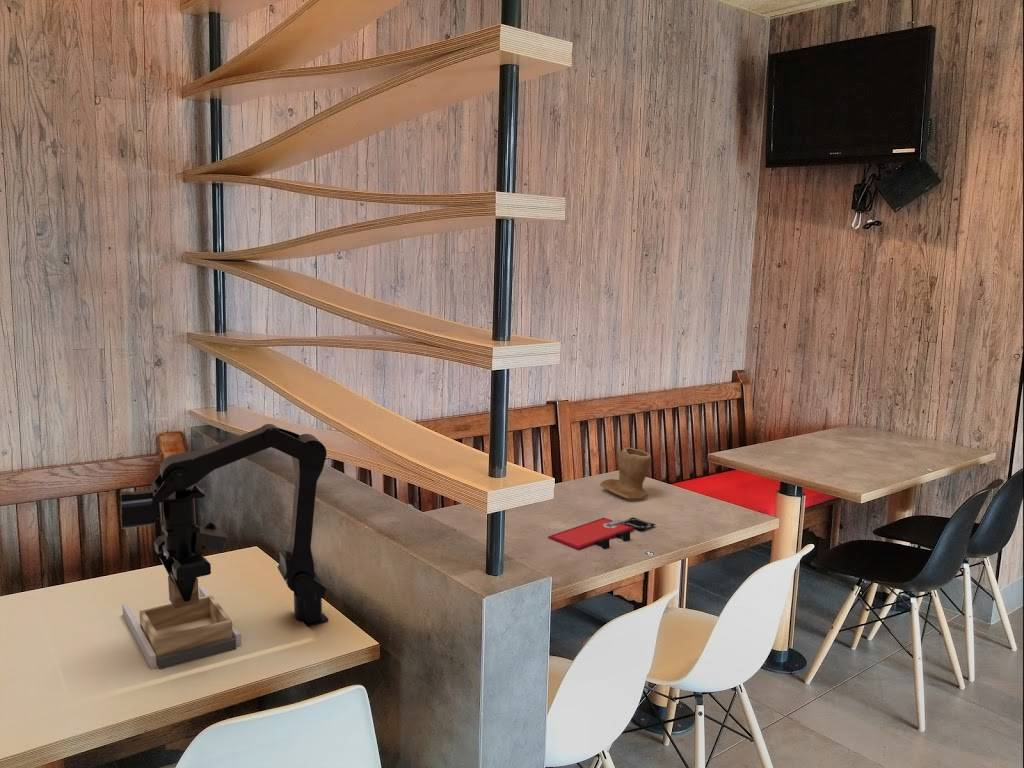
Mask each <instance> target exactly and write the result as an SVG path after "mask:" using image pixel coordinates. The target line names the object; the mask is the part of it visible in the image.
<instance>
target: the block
mask: <svg viewBox="0 0 1024 768" xmlns="http://www.w3.org/2000/svg"><path fill="white" fill-rule="evenodd" d="M167 583H168V600H169V602H170V604H172V605H173V606H174V608H179V607H184V606H188V605H192V604H197V603H199V597H200V594H199V579H198V577H197V578H196V580H195V584H194V588H193V592H192V596H191V600H190V601H187V602H184V600H183V598H182V596H181V594H180V592H179V590H178V588H177V586H176V584H175V582H174V580H173V578H172V576H169V575H168V576H167Z"/></svg>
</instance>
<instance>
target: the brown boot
mask: <svg viewBox="0 0 1024 768" xmlns="http://www.w3.org/2000/svg"><path fill="white" fill-rule="evenodd" d="M651 465H652V455H651V454H650V453H649V452H647V451H644V450H642V449H637V448H633V447H625V448H623V449H622V450H621V451H620V453H619V457H618V476H619V477H618V479H616V478H609V479H606V480H602V481H601V482H600V483H599V486H600V487H601V488H602V489H605V490H607V491H609V492H611V493H612V494H614V495H617V496H619V497H621V498H623V499H626V500H641V499H644V498H646V497H647V496H648V493H647V492H646V491H645V489H644V488H643V486H644V482H645V479H646V477H647V475H648V473H649V472H650V467H651Z"/></svg>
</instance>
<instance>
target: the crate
mask: <svg viewBox="0 0 1024 768" xmlns="http://www.w3.org/2000/svg"><path fill="white" fill-rule="evenodd" d="M232 623H233V621H232V619H231V618H230V617H229V615H228V614H227V612H225V610H224V609H223V608H222V606H221V605H220V603H218V601H217V600H216V598H215V597H214V596H213V595H212V594H210V595H208V596H204V597H200V596H199V603H197V604H192V605H188V606H184V607H179V608H174V606H173V605H172V603H168V604H165V605H160V606H156V607H152V608H147V609H143V610H139V625H140V627H141V629H142V631H143V632H144V634H145V636H146V638H147V640H148V642H149V643H150V645H151V647H152V649H153V651H154V652H155V654H156V663H157V665H158V657H161V656H165V655H169V654H173V653H177V652H181V651H184V650H188V649H192V648H196V647H200V646H204V645H208V644H212V643H216V642H219V641H223V640H227V639H231V638H233V632H232Z"/></svg>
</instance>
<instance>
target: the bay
mask: <svg viewBox="0 0 1024 768" xmlns="http://www.w3.org/2000/svg"><path fill="white" fill-rule="evenodd" d="M198 592H199V597H204V596H208V595H211V593H210V592H209V591H208V590H207V589H206V587H205V586H200V587H199V586H198ZM121 605H122V606H121V609H122V616H123V618H124V620H125V622H126V624H127V625H128V628H129V630H130V631H131V633H132V635H133V637H134V639H135V641H136V643H137V644H138V647H139V648H140V651H141V653H142V655H143V656H144V658H145V660H146V662H147V664H148V667H149V668H150V670H153V669H156V668H157V667H158V668H159V670H162V669H167V668H171V667H174V666H178V665H181V664H185V663H190V662H193V661H197V660H201V659H204V658H207V657H212V656H215V655H218V654H219V655H221V654H223V653H226V652H231V651H235V650H236V649H237V647H239V646H242V633H241V632H240V631H239V629H238V628H237V626H236V625H235V624H234V623H233V622H232V632H233V638H231V639H227V640H223V641H219V642H216V643H212V644H208V645H204V646H200V647H196V648H192V649H188V650H184V651H181V652H177V653H173V654H169V655H165V656H161V657H158V664H157V663H156V654H155V652H154V651H153V649H152V647H151V645H150V643H149V642H148V640H147V638H146V636H145V634H144V632H143V631H142V629H141V627H140V622H138V619H137V618H136V616H135V615H134V612H133V610H132V608H131V607H130V605H129V603H128V602H126V603H122V604H121Z"/></svg>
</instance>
